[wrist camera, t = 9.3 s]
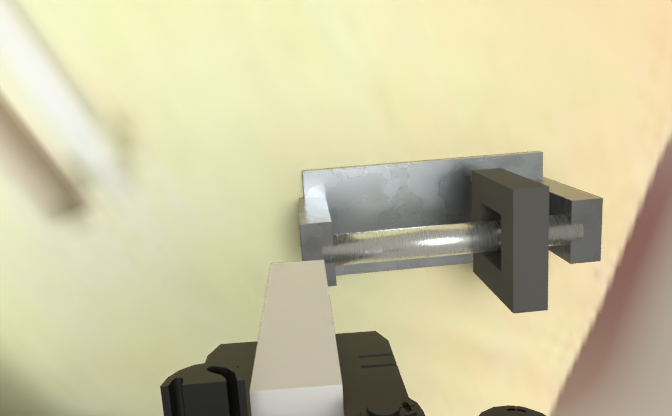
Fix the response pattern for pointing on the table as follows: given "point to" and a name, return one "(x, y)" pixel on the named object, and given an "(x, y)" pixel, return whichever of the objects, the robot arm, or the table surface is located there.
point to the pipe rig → (428, 215)
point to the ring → (514, 237)
